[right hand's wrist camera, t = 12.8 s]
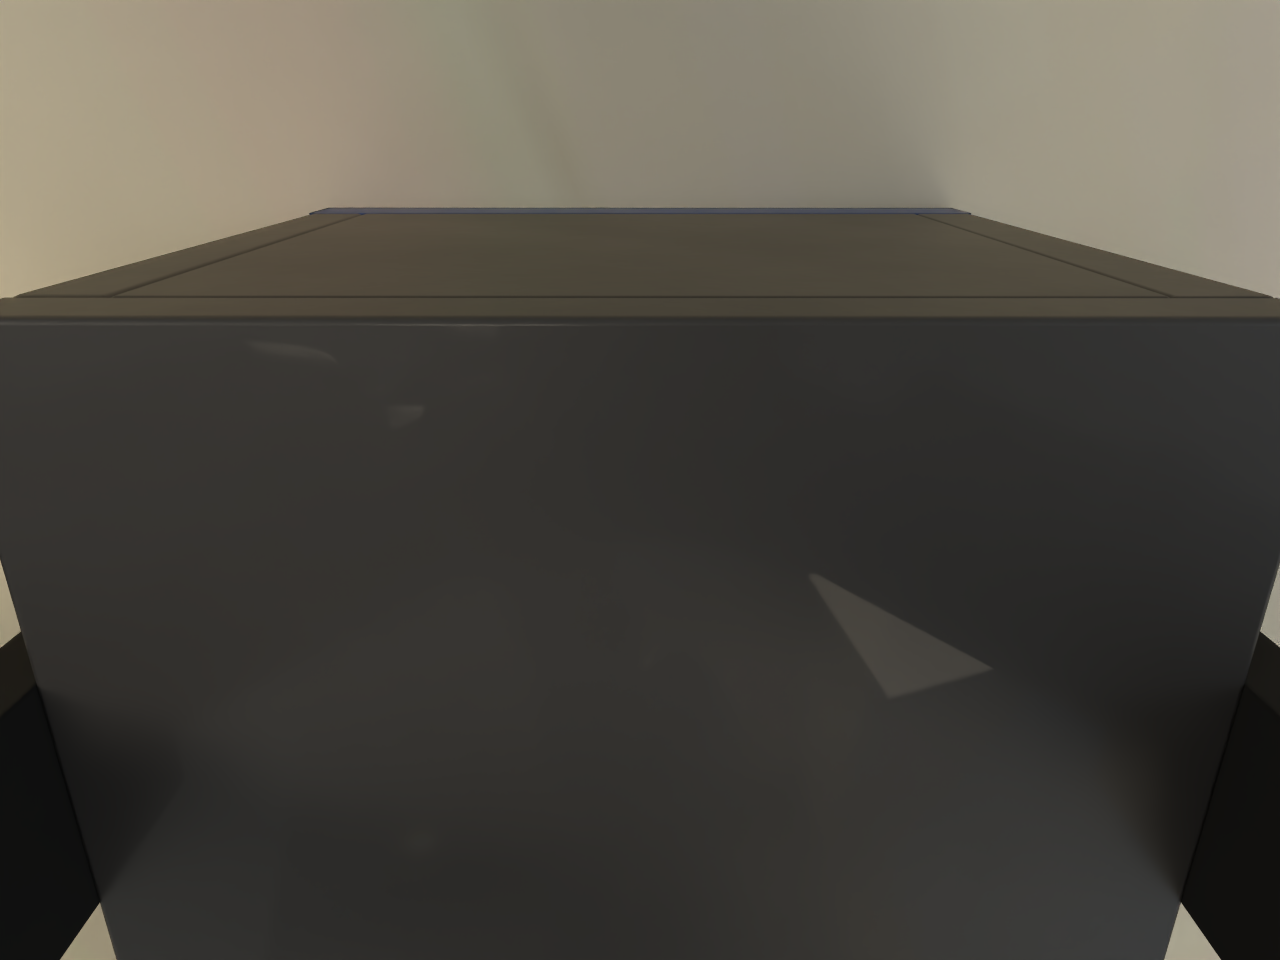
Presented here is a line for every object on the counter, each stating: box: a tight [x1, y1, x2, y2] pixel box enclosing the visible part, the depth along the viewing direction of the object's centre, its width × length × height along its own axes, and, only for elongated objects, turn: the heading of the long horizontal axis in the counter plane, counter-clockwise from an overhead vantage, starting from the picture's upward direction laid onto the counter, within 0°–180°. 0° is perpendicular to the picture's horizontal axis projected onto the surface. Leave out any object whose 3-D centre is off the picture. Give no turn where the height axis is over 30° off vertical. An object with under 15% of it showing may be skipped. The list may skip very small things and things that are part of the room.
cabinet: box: [0, 208, 1280, 960], centre depth 15 cm, size 18×11×10 cm, turn 0°
